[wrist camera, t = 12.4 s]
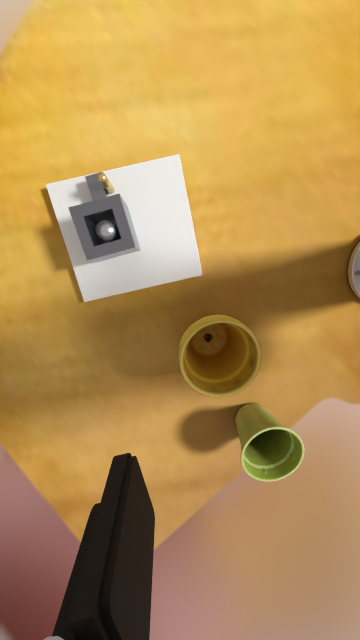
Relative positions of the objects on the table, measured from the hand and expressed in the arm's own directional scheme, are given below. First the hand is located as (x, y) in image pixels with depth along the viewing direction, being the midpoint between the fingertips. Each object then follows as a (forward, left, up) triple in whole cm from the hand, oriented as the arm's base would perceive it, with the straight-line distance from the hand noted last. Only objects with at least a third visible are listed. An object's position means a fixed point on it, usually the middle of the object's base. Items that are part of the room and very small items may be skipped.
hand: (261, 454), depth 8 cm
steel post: (+8, -13, -27) cm, 31 cm away
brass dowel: (+7, -19, -27) cm, 34 cm away
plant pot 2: (-7, +22, -28) cm, 37 cm away
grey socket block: (+8, -15, -27) cm, 32 cm away
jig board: (+6, -13, -28) cm, 32 cm away
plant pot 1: (-2, +5, -28) cm, 29 cm away
